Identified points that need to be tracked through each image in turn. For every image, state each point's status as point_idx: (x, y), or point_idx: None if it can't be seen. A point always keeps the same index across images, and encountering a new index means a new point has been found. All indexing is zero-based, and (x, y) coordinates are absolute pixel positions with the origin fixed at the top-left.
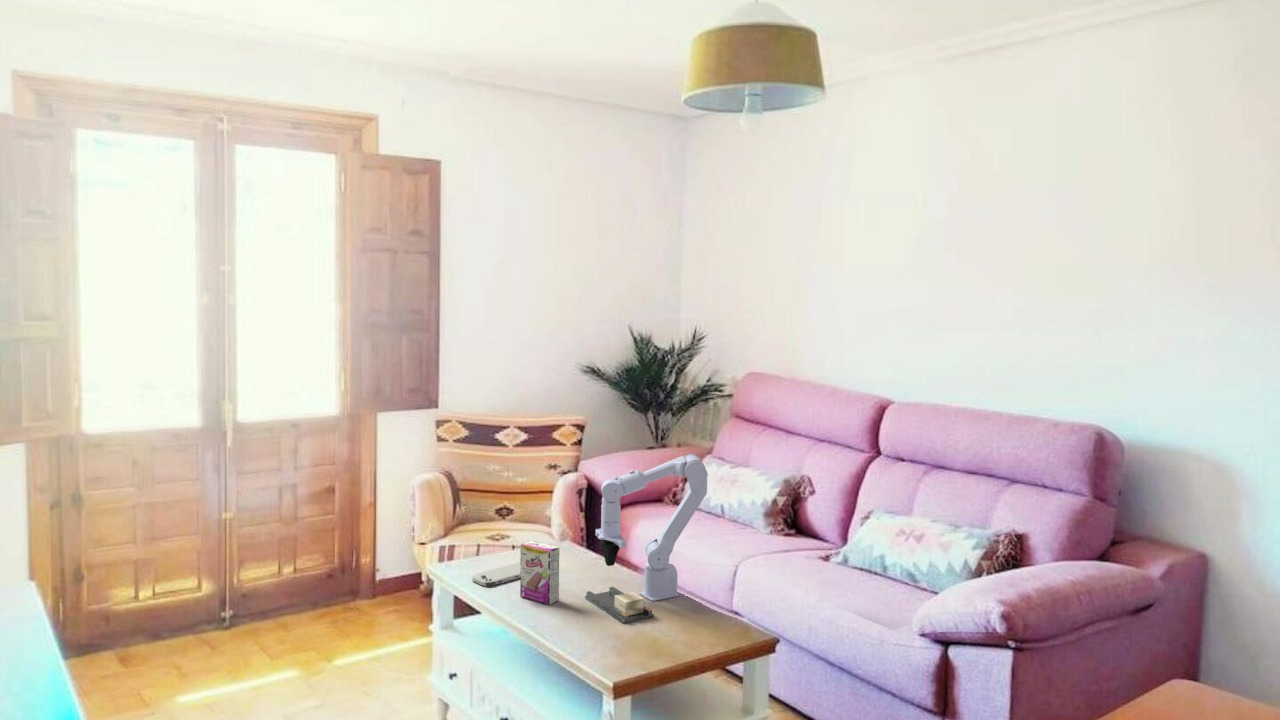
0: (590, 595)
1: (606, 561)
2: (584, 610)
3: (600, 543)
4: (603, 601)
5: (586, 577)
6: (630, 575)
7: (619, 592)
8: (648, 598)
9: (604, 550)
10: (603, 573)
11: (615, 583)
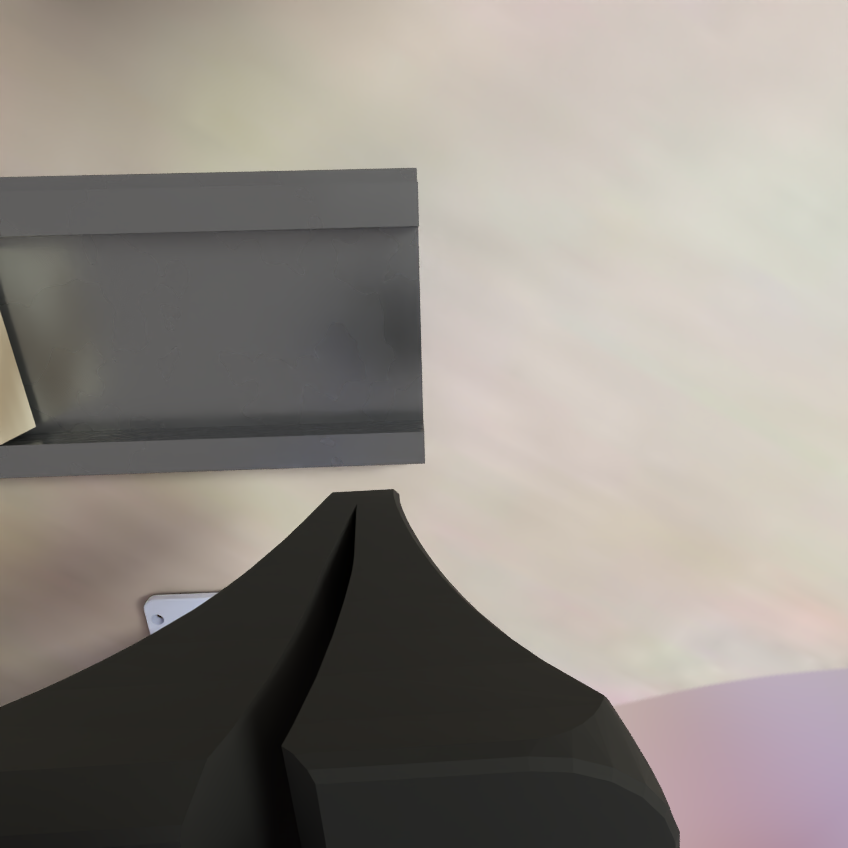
0: (335, 184)
1: (351, 509)
2: (135, 4)
3: (439, 741)
4: (96, 206)
5: (829, 420)
6: (656, 680)
7: (271, 447)
8: (196, 594)
9: (340, 624)
10: (806, 560)
11: (587, 543)
